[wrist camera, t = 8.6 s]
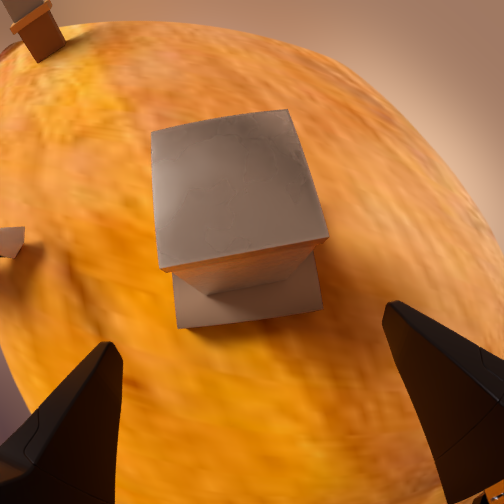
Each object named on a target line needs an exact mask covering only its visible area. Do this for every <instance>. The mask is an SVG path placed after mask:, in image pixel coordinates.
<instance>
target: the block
mask: <svg viewBox="0 0 504 504" xmlns="http://www.w3.org/2000/svg"><path fill="white" fill-rule="evenodd" d="M172 277H173V289H174V300H175V310H176V319H177V328H178V329H182V328H195V327H205V326H214V325H223V324H232V323H240V322H247V321H255V320H262V319H269V318H276V317H282V316H288V315H295V314H301V313H307V312H312V311H317V310H321V309H323V303H322V297H321V291H320V286H319V280H318V274H317V269H316V263H315V258H314V253H313V250H312V252H311V253H310V254H309V255H308V256H307V257H306V258H305V260H304V261H303V262H302V263H301V264H300V265H299V266H298V268H297V269H296V270H295V271H294V272H293V273H292V274H291V276H290V277H289V278H288V279H287V280H284V281H279V282H274V283H269V284H264V285H258V286H253V287H248V288H243V289H238V290H232V291H227V292H221V293H216V294H210V295H204V294H202V293H201V292H199V291H198V290H197V289H195V288H194V287H192V286H191V285H189V284H188V283H186V282H185V281H184V280H182V279H181V278H179V277H178V276H176V275H175V274H174V273H172Z"/></svg>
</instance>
